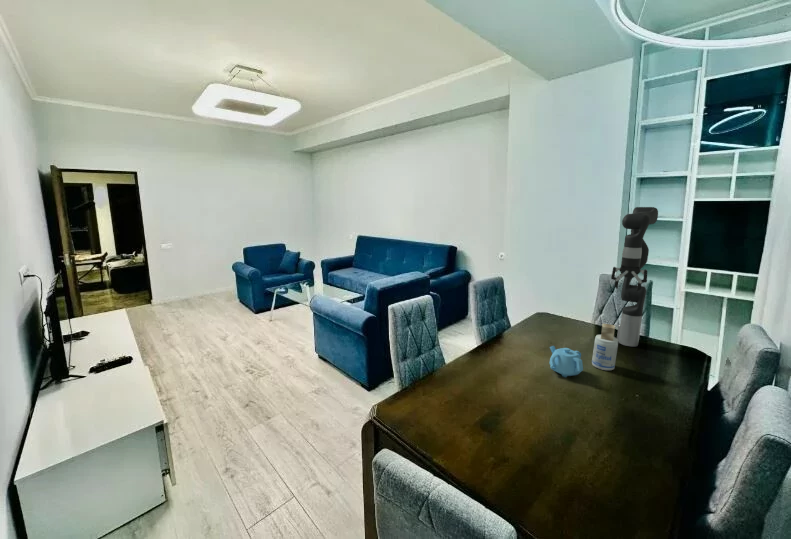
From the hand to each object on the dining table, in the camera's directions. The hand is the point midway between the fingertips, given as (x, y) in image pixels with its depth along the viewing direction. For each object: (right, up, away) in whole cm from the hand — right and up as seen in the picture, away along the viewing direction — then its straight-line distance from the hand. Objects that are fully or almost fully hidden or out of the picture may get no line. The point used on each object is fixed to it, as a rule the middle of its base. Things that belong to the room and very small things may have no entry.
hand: (627, 289), depth 168 cm
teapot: (-33, -39, -5) cm, 51 cm away
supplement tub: (-12, -37, -1) cm, 39 cm away
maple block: (-12, -23, -4) cm, 26 cm away
